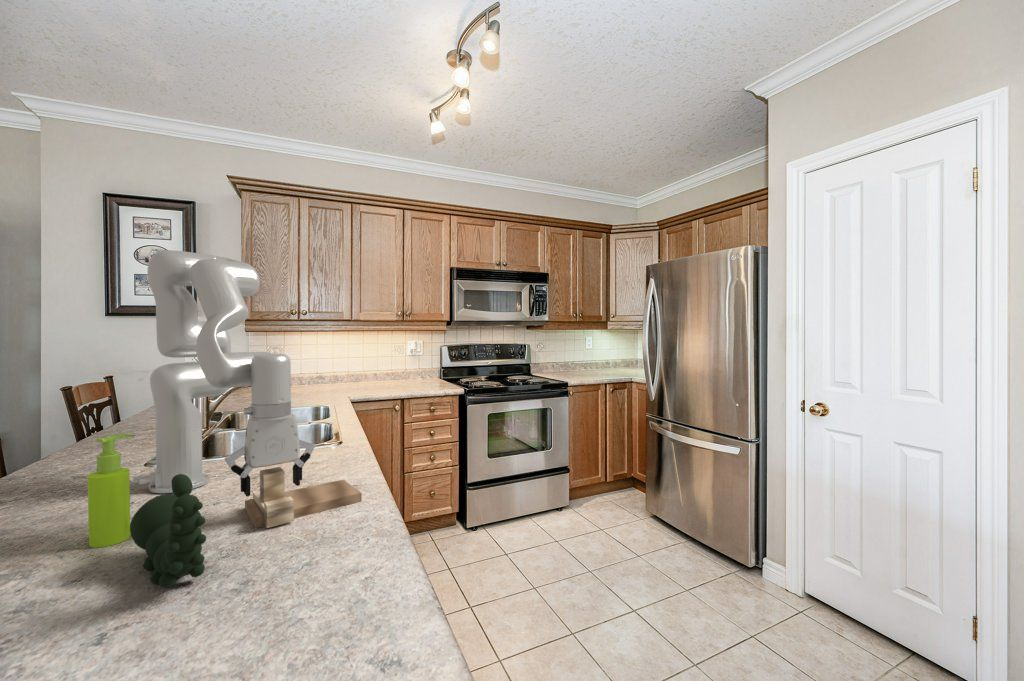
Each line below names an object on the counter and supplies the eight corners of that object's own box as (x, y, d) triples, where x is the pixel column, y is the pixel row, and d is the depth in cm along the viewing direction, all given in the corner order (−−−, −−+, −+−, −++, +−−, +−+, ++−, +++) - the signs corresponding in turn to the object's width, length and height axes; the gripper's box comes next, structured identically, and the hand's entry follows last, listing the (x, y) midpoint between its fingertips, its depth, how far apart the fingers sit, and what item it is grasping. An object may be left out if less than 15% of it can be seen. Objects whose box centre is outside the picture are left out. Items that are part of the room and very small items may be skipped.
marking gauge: (266, 527, 89) (266, 482, 89) (252, 505, 100) (252, 465, 100) (293, 521, 92) (293, 477, 92) (277, 500, 103) (276, 461, 103)
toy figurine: (223, 593, 71) (186, 530, 88) (225, 479, 69) (187, 437, 86) (148, 621, 64) (123, 547, 81) (148, 495, 62) (123, 446, 79)
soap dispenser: (143, 533, 88) (142, 433, 87) (101, 549, 81) (99, 441, 80) (124, 529, 89) (122, 430, 89) (81, 544, 83) (79, 438, 82)
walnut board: (255, 527, 90) (255, 518, 90) (244, 509, 99) (244, 500, 99) (361, 501, 105) (361, 492, 105) (343, 487, 114) (343, 479, 114)
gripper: (227, 418, 87) (228, 504, 88) (318, 408, 98) (319, 484, 99) (221, 413, 93) (222, 493, 93) (308, 404, 104) (309, 476, 105)
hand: (272, 489), depth 96 cm, fingers open, 9 cm apart
